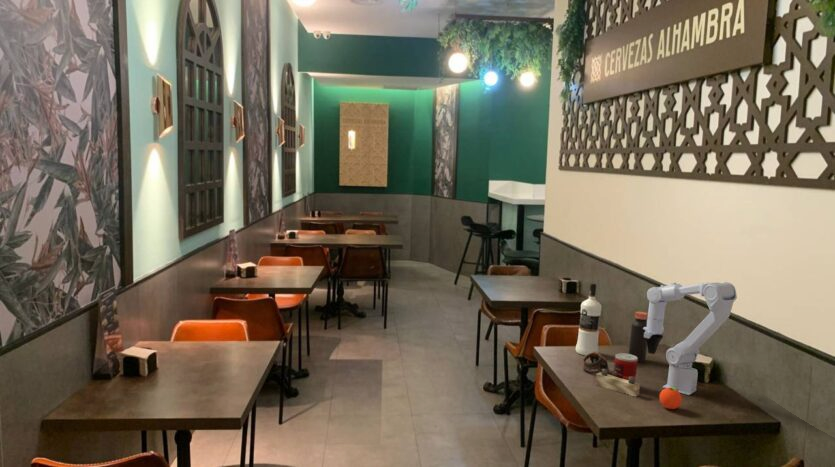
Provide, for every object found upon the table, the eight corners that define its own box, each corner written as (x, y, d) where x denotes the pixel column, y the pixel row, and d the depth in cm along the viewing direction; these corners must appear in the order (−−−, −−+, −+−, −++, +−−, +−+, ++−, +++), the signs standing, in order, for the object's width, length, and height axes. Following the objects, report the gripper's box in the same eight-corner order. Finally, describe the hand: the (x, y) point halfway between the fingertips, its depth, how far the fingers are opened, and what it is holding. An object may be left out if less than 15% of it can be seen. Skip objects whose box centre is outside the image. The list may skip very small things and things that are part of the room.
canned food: (637, 385, 228) (640, 356, 227) (631, 391, 222) (634, 361, 220) (616, 380, 232) (619, 351, 231) (609, 385, 226) (612, 356, 224)
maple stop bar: (638, 395, 218) (640, 378, 218) (635, 397, 216) (637, 380, 215) (598, 382, 228) (600, 366, 228) (595, 384, 226) (596, 368, 225)
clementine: (666, 402, 213) (669, 382, 213) (686, 409, 208) (688, 388, 207) (654, 406, 208) (656, 386, 208) (673, 414, 203) (676, 393, 202)
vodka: (602, 355, 261) (609, 285, 258) (584, 357, 258) (591, 286, 254) (588, 349, 270) (595, 281, 266) (570, 350, 266) (577, 281, 262)
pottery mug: (613, 377, 237) (606, 360, 234) (589, 385, 238) (582, 368, 236) (606, 359, 248) (599, 343, 245) (583, 367, 250) (576, 351, 247)
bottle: (635, 356, 263) (640, 310, 261) (648, 361, 257) (654, 314, 255) (624, 358, 260) (629, 311, 257) (637, 363, 254) (643, 315, 252)
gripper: (652, 313, 243) (648, 346, 245) (637, 318, 233) (633, 354, 234) (670, 317, 239) (666, 351, 240) (656, 323, 228) (652, 359, 230)
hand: (651, 353), depth 237 cm, fingers closed
